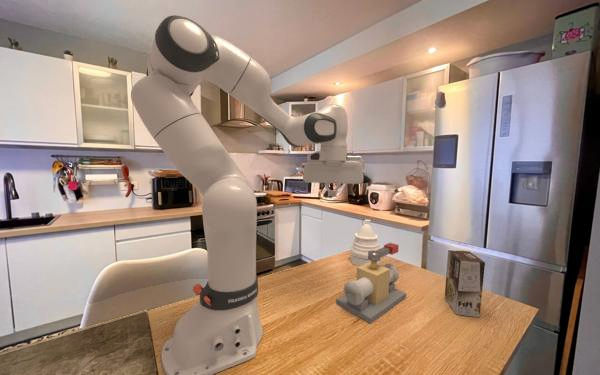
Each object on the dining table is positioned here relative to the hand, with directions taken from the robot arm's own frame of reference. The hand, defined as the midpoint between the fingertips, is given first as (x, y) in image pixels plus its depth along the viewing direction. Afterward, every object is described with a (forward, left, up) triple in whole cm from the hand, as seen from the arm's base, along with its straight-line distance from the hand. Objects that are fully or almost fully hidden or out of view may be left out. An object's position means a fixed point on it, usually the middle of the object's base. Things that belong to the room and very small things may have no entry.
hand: (332, 196), depth 83 cm
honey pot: (+26, +3, -31) cm, 41 cm away
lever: (+7, -16, -18) cm, 25 cm away
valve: (+2, -16, -31) cm, 35 cm away
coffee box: (+20, -35, -31) cm, 51 cm away
